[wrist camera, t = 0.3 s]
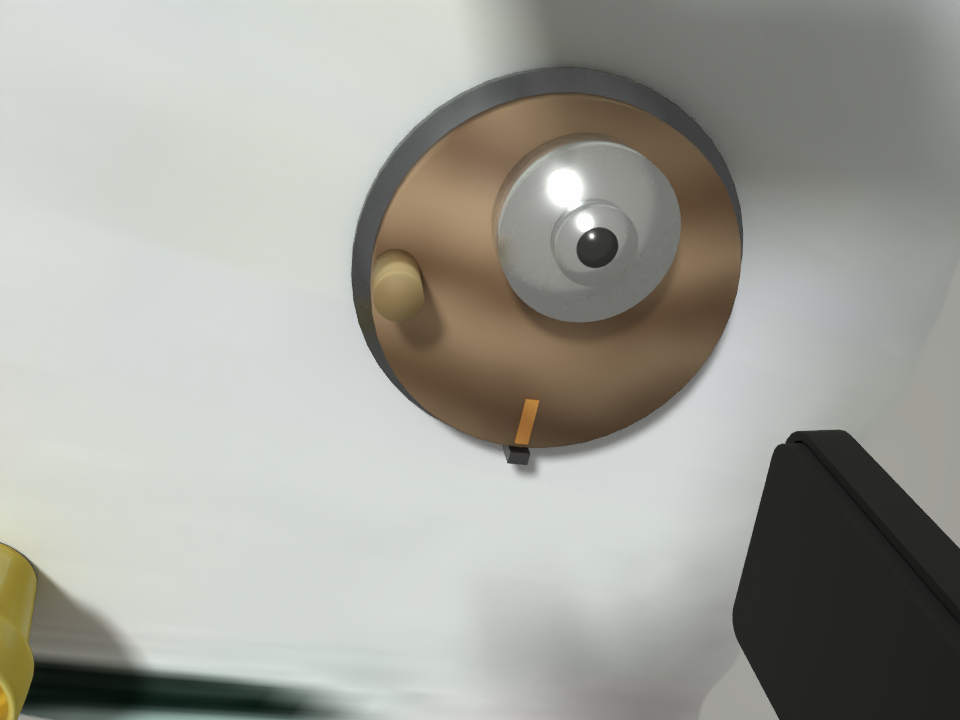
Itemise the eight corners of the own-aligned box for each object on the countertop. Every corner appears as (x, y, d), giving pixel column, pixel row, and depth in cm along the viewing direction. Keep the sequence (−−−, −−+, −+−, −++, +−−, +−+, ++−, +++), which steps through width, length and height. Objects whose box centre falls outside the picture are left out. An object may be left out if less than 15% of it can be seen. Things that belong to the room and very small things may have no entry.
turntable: (399, 58, 39) (405, 77, 34) (779, 128, 43) (830, 154, 38) (349, 414, 48) (348, 468, 43) (667, 444, 52) (697, 496, 47)
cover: (511, 117, 39) (526, 137, 36) (685, 148, 41) (715, 169, 37) (476, 290, 43) (485, 322, 40) (635, 310, 45) (658, 343, 41)
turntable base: (380, 29, 39) (382, 37, 36) (793, 107, 43) (823, 121, 41) (330, 417, 49) (329, 448, 46) (671, 448, 53) (688, 478, 51)
